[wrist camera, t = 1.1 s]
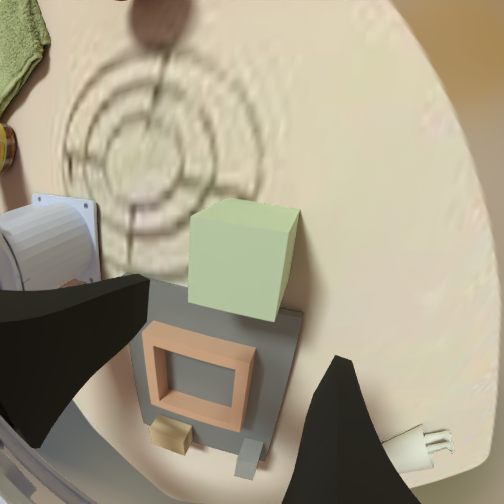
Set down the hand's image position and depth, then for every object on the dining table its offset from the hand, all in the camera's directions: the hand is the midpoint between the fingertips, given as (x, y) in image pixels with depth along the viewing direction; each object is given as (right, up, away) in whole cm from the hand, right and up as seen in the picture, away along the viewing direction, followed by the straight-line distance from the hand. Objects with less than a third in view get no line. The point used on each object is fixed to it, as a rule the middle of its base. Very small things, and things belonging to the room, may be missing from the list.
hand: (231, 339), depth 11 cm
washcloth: (-28, +28, +11) cm, 41 cm away
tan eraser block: (-8, -16, +20) cm, 27 cm away
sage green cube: (+1, +4, +11) cm, 12 cm away
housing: (-4, -9, +17) cm, 20 cm away
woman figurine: (+14, -19, +16) cm, 28 cm away
